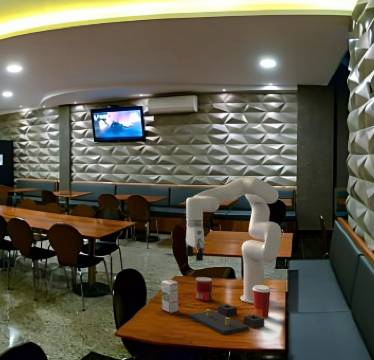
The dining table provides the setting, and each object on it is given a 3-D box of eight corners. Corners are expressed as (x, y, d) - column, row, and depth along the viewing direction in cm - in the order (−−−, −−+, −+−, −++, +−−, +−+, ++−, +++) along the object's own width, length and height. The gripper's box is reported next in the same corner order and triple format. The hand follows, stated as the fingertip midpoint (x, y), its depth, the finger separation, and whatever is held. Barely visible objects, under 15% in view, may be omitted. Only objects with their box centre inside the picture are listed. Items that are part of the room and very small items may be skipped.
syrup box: (178, 310, 218) (178, 281, 217) (169, 313, 215) (169, 283, 214) (169, 307, 223) (169, 279, 222) (161, 309, 220) (161, 281, 219)
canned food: (213, 302, 231) (213, 281, 230) (196, 301, 232) (196, 280, 232) (210, 297, 238) (210, 277, 238) (195, 296, 240) (195, 276, 239)
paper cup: (269, 314, 211) (269, 285, 211) (271, 320, 204) (272, 290, 203) (251, 312, 214) (251, 284, 213) (253, 318, 207) (253, 288, 206)
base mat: (212, 313, 214) (212, 304, 213) (248, 329, 193) (248, 319, 193) (189, 317, 209) (189, 308, 208) (223, 334, 188) (223, 324, 188)
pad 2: (253, 322, 202) (253, 314, 202) (264, 326, 196) (264, 318, 196) (243, 323, 200) (243, 316, 200) (254, 328, 194) (254, 320, 194)
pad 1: (227, 311, 217) (227, 304, 217) (236, 314, 211) (236, 307, 211) (217, 312, 215) (217, 305, 215) (226, 316, 209) (227, 309, 209)
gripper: (211, 225, 205) (210, 262, 206) (193, 220, 222) (193, 254, 223) (195, 226, 204) (195, 262, 205) (179, 220, 221) (179, 254, 222)
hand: (194, 258), depth 214 cm, fingers open, 9 cm apart
